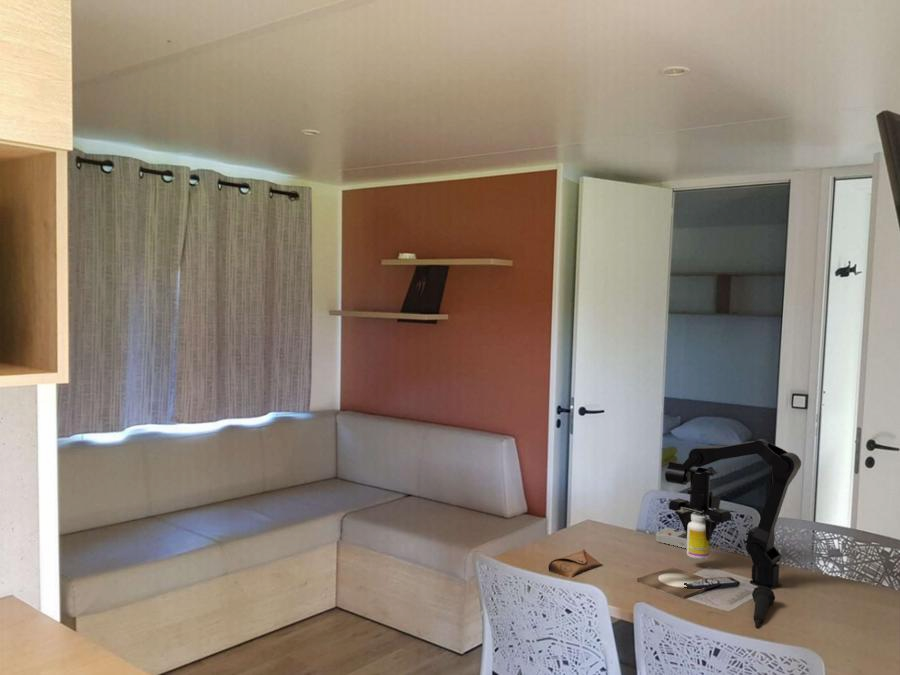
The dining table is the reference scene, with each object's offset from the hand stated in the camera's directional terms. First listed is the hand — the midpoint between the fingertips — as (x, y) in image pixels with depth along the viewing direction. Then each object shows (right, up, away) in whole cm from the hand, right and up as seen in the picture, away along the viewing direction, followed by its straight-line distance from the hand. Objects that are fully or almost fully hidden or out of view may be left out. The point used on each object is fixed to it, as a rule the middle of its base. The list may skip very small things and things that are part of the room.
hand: (698, 537), depth 228 cm
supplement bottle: (0, -6, 0) cm, 6 cm away
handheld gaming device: (+2, -9, +24) cm, 26 cm away
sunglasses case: (-38, -9, -3) cm, 39 cm away
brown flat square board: (-11, -10, -14) cm, 20 cm away
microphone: (+4, -11, -35) cm, 37 cm away
